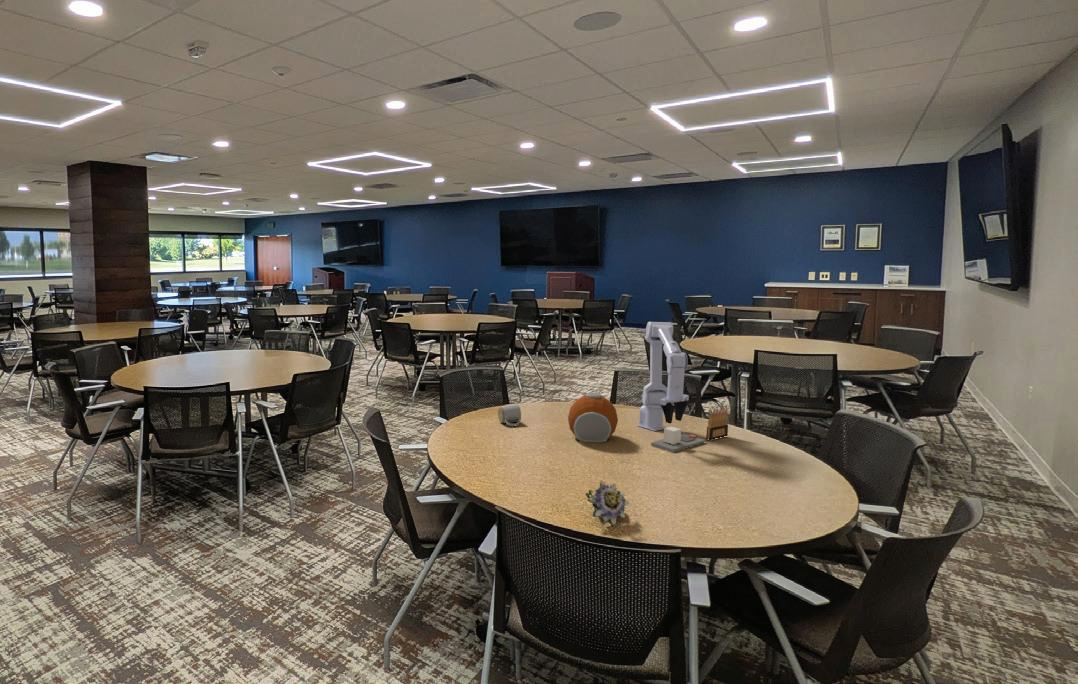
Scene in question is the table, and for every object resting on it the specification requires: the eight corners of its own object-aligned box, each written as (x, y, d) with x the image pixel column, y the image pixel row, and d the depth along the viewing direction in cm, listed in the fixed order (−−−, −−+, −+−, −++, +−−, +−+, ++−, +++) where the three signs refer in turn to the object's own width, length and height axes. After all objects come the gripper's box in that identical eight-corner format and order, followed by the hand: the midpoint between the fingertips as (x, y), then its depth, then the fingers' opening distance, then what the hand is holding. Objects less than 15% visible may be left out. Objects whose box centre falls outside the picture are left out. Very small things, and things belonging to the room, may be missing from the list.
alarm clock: (616, 432, 230) (618, 390, 228) (617, 446, 213) (619, 400, 210) (568, 430, 232) (569, 387, 230) (566, 443, 215) (567, 397, 212)
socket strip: (651, 445, 214) (651, 440, 214) (683, 436, 227) (684, 431, 227) (673, 452, 206) (673, 447, 206) (705, 442, 219) (705, 438, 219)
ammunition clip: (709, 441, 222) (711, 410, 220) (705, 439, 223) (707, 409, 222) (727, 437, 228) (729, 407, 226) (723, 435, 229) (725, 406, 228)
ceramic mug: (496, 421, 242) (497, 403, 241) (514, 419, 245) (515, 401, 244) (505, 428, 233) (506, 409, 231) (524, 426, 236) (524, 408, 235)
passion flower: (611, 544, 149) (599, 517, 142) (583, 521, 157) (570, 495, 150) (640, 513, 153) (629, 486, 146) (612, 493, 161) (600, 466, 154)
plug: (663, 445, 214) (664, 428, 214) (670, 443, 217) (671, 426, 216) (672, 448, 211) (673, 431, 210) (680, 446, 214) (681, 429, 213)
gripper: (672, 389, 203) (670, 427, 205) (696, 385, 213) (694, 420, 214) (656, 386, 209) (654, 422, 211) (680, 381, 218) (678, 416, 220)
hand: (673, 421), depth 213 cm, fingers open, 5 cm apart
